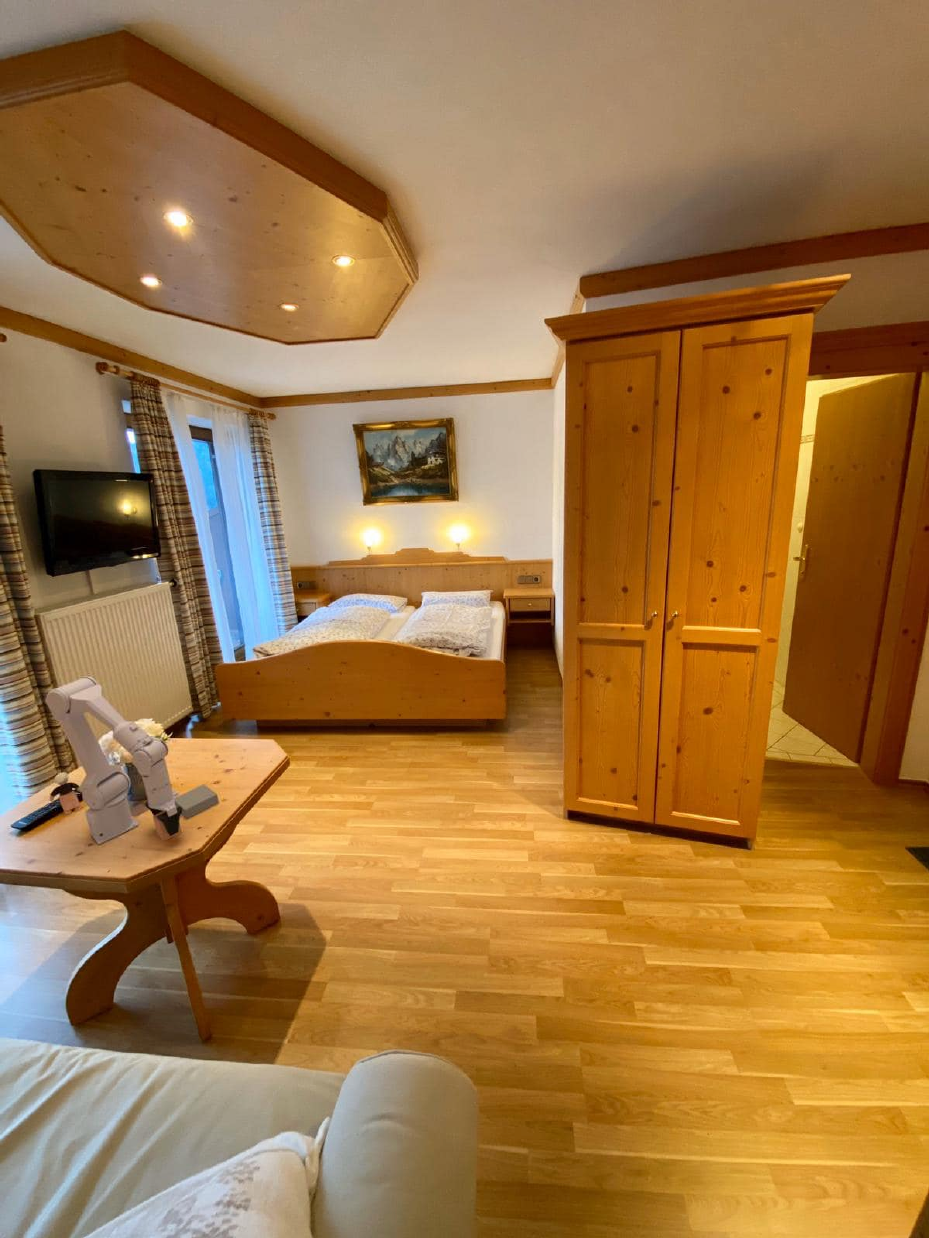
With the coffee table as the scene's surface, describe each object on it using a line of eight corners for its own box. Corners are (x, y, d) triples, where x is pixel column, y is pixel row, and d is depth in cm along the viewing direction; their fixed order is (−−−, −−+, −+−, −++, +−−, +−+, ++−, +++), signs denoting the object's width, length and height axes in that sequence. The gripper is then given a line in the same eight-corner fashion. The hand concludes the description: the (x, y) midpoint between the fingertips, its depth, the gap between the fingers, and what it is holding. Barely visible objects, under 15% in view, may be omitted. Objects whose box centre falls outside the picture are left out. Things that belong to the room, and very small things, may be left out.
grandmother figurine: (85, 801, 147) (74, 765, 144) (88, 806, 144) (77, 769, 141) (53, 815, 141) (41, 777, 138) (56, 820, 139) (44, 782, 135)
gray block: (187, 818, 136) (185, 809, 135) (174, 807, 141) (172, 798, 141) (219, 802, 143) (217, 794, 142) (205, 792, 148) (204, 784, 147)
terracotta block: (163, 841, 127) (159, 822, 126) (157, 834, 130) (152, 816, 128) (181, 832, 130) (177, 813, 129) (175, 825, 133) (170, 807, 132)
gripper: (184, 786, 125) (195, 829, 128) (163, 768, 134) (173, 810, 137) (155, 799, 120) (166, 845, 123) (135, 780, 129) (146, 823, 132)
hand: (168, 827), depth 130 cm, fingers open, 7 cm apart
